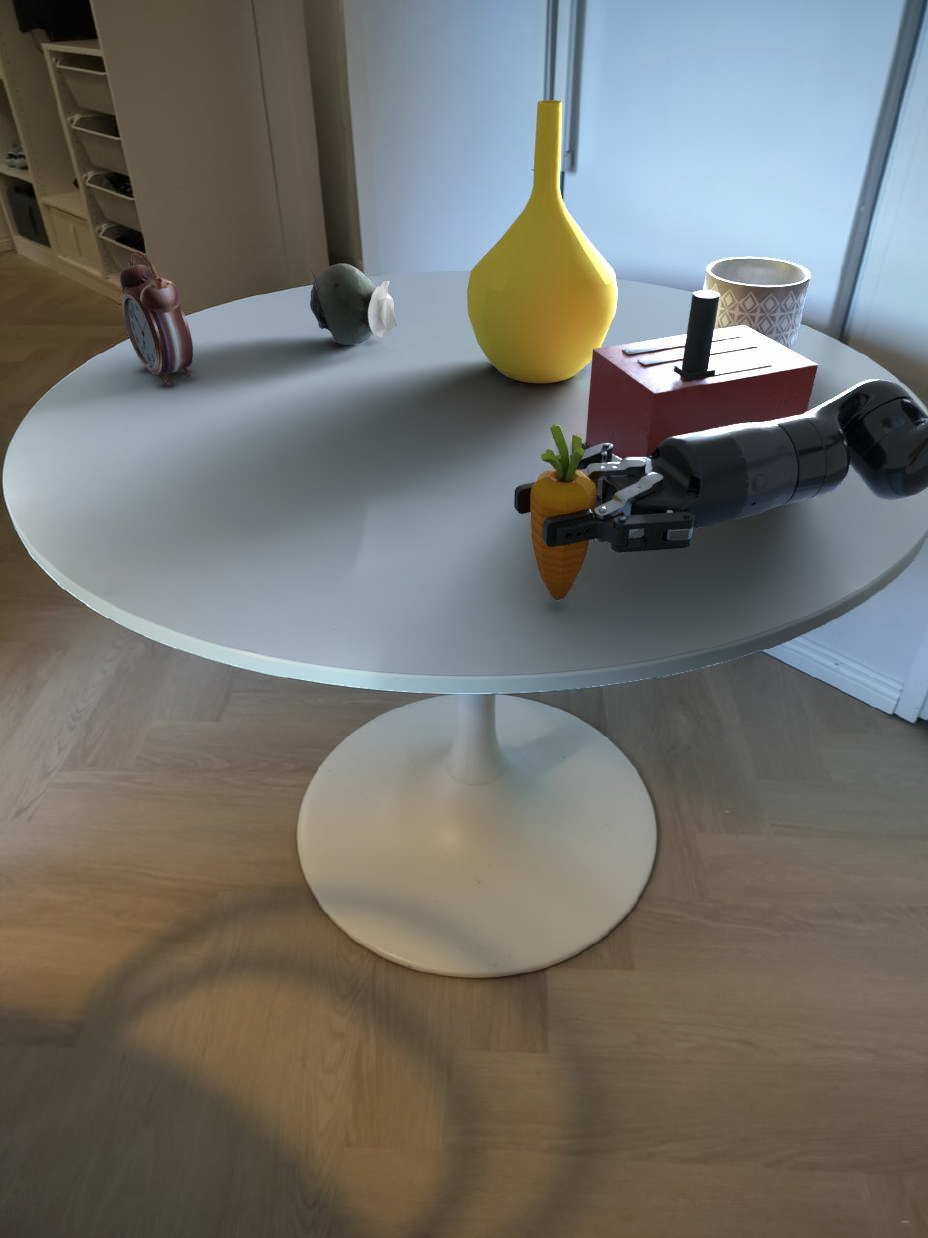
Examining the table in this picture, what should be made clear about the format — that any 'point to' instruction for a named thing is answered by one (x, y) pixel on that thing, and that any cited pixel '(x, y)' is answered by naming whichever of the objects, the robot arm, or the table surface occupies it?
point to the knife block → (691, 389)
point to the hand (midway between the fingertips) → (530, 516)
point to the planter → (760, 296)
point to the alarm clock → (155, 319)
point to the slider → (699, 336)
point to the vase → (542, 280)
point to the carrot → (560, 512)
